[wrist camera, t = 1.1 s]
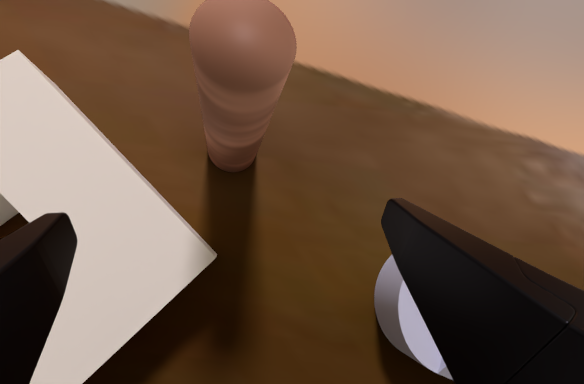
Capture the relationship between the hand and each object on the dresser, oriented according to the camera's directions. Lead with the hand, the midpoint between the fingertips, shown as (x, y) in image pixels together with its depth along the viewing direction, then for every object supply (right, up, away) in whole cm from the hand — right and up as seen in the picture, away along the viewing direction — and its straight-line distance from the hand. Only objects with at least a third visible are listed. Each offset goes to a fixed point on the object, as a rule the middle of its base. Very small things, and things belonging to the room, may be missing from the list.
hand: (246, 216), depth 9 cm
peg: (-3, +4, +14) cm, 15 cm away
